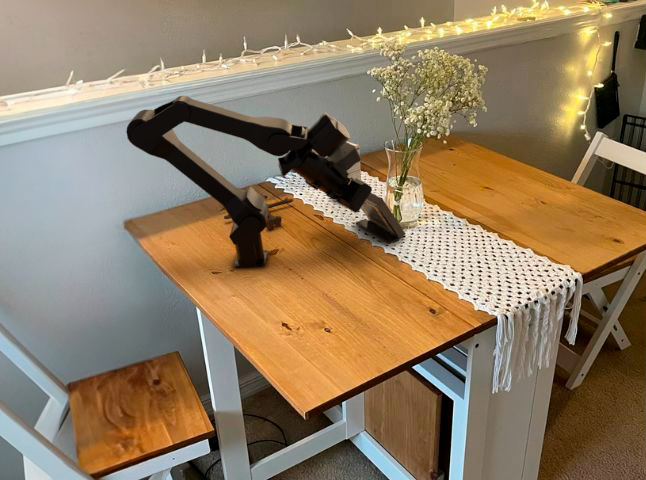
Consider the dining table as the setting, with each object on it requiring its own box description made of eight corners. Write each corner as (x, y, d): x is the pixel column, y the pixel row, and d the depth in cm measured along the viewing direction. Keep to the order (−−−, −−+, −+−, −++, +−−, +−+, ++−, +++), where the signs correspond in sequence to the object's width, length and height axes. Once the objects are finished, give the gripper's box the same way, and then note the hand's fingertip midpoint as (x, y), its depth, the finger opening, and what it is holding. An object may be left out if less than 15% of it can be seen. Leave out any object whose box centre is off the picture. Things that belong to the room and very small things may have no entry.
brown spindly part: (237, 227, 153) (215, 200, 163) (239, 243, 156) (218, 215, 166) (309, 208, 161) (284, 183, 171) (310, 223, 164) (285, 198, 173)
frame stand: (389, 246, 150) (388, 242, 150) (355, 225, 159) (355, 222, 159) (399, 242, 152) (398, 238, 151) (365, 222, 161) (365, 218, 160)
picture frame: (400, 239, 153) (376, 204, 144) (369, 221, 161) (345, 187, 152) (406, 233, 153) (382, 198, 144) (375, 216, 161) (351, 182, 153)
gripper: (361, 146, 131) (407, 184, 142) (311, 123, 144) (358, 160, 155) (330, 195, 131) (378, 229, 143) (283, 167, 144) (331, 201, 156)
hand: (361, 202), depth 149 cm, fingers closed
